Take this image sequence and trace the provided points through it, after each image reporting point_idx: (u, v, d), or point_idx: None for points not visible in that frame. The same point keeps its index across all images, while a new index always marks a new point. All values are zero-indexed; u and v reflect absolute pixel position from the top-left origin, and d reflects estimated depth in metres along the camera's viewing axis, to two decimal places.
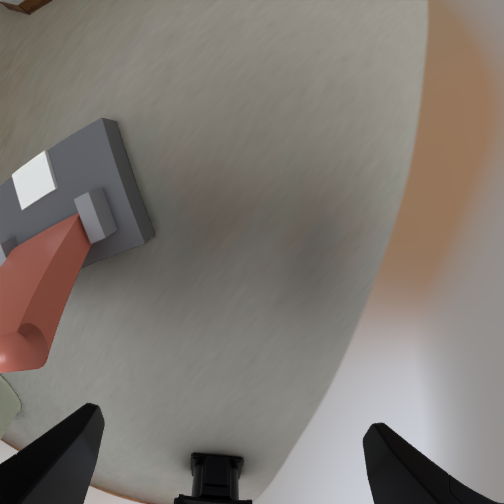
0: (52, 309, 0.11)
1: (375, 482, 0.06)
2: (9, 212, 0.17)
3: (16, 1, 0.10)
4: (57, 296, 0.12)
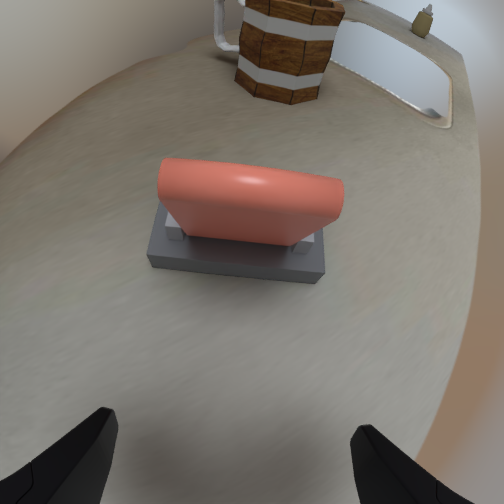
0: None
1: (362, 485, 0.06)
2: None
3: (260, 78, 0.33)
4: None
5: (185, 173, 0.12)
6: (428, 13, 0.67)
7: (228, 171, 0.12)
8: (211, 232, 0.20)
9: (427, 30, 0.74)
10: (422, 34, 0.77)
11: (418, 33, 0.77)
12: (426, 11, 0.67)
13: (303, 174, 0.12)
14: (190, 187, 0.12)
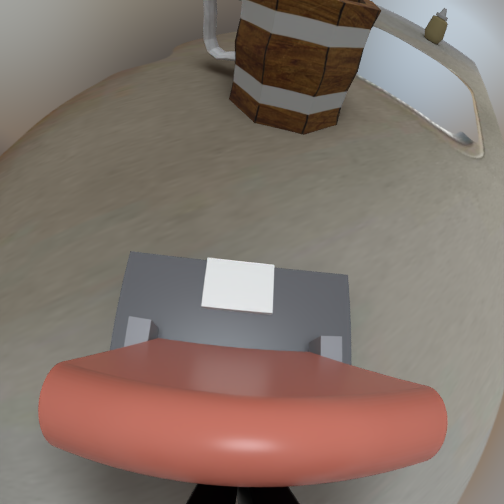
0: None
1: (238, 495, 0.06)
2: (169, 294, 0.16)
3: (264, 98, 0.25)
4: None
5: (91, 435, 0.04)
6: (443, 18, 0.60)
7: (193, 443, 0.04)
8: None
9: (441, 36, 0.67)
10: (436, 40, 0.70)
11: (431, 39, 0.70)
12: (440, 15, 0.60)
13: (376, 415, 0.04)
14: (110, 461, 0.04)
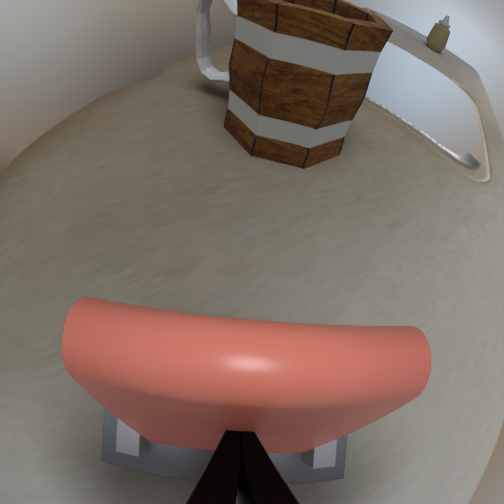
0: None
1: (238, 495, 0.06)
2: None
3: (261, 130, 0.24)
4: None
5: (115, 326, 0.05)
6: (445, 25, 0.61)
7: (205, 328, 0.05)
8: (183, 442, 0.10)
9: (444, 44, 0.67)
10: (438, 49, 0.70)
11: (434, 47, 0.71)
12: (443, 23, 0.60)
13: (353, 327, 0.06)
14: (123, 356, 0.05)
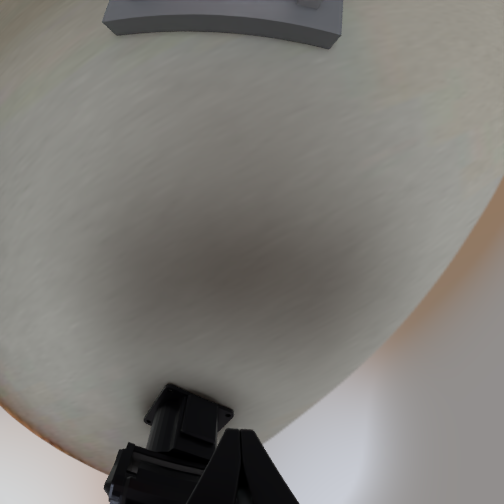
0: None
1: (238, 495, 0.06)
2: None
3: None
4: None
5: None
6: None
7: None
8: None
9: None
10: None
11: None
12: None
13: None
14: None
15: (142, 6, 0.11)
